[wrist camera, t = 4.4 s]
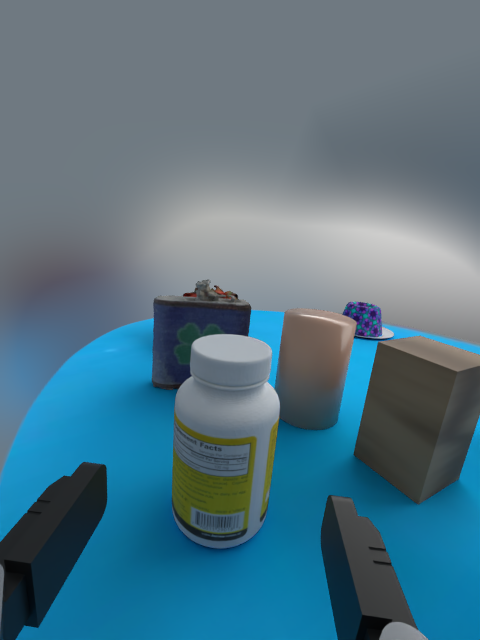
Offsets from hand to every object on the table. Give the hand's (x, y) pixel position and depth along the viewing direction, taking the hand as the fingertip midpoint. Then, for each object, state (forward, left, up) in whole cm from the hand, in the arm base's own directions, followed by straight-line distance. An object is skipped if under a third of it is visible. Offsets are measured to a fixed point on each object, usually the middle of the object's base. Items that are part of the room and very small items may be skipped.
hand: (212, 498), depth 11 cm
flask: (-3, -20, -6) cm, 21 cm away
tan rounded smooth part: (-12, -14, -6) cm, 19 cm away
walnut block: (-16, -6, -6) cm, 18 cm away
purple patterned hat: (-36, -39, -6) cm, 53 cm away
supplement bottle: (-2, -5, -6) cm, 8 cm away
